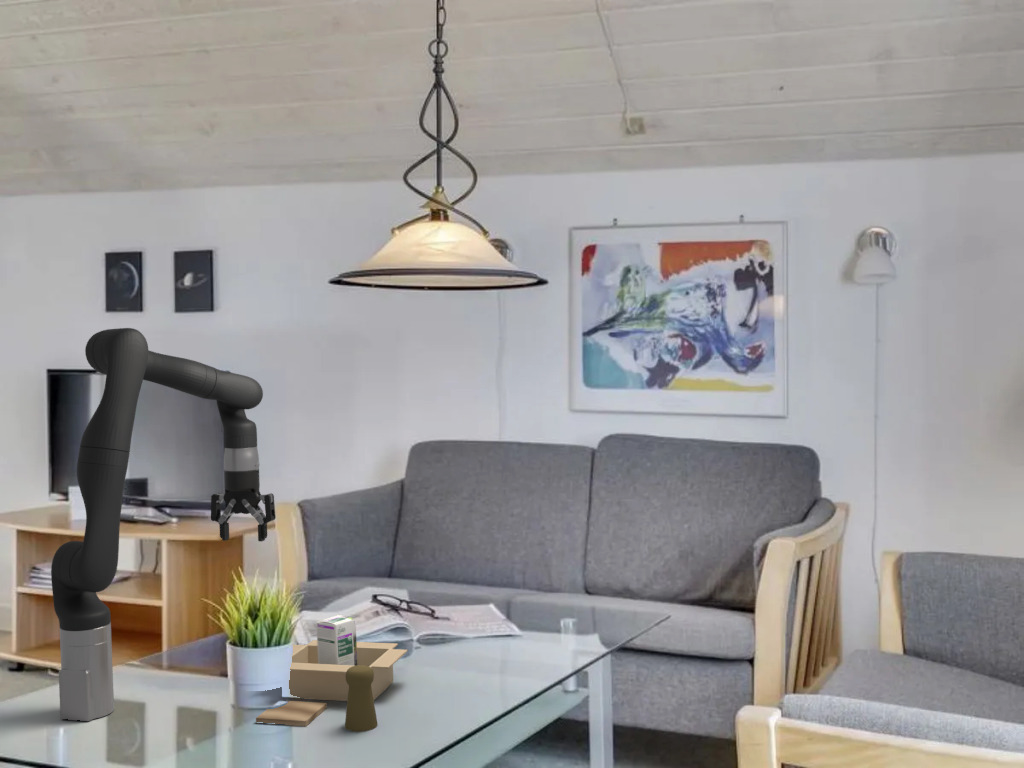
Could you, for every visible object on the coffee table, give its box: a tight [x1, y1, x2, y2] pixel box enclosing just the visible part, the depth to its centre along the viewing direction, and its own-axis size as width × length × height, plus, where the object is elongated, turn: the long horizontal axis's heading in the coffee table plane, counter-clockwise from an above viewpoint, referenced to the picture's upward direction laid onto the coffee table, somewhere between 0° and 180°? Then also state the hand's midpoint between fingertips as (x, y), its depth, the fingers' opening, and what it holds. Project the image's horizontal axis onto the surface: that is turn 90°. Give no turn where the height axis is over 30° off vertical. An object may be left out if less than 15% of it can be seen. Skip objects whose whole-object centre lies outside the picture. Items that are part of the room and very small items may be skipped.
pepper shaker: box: [344, 665, 378, 733], centre depth 202 cm, size 6×6×11 cm
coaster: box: [255, 700, 328, 727], centre depth 208 cm, size 10×10×1 cm
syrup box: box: [316, 615, 358, 666], centre depth 223 cm, size 6×6×14 cm
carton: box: [289, 639, 409, 702], centre depth 223 cm, size 26×20×7 cm
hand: (243, 540), depth 243 cm, fingers open, 8 cm apart
